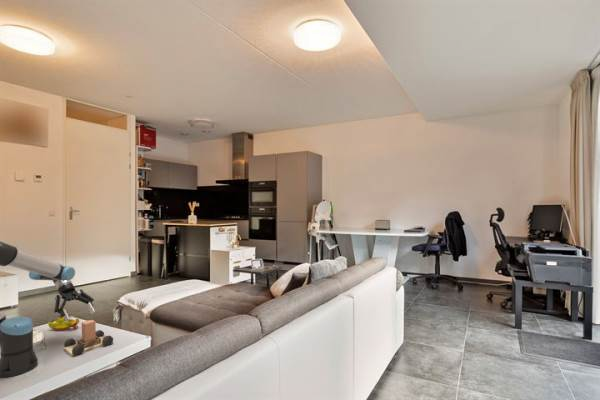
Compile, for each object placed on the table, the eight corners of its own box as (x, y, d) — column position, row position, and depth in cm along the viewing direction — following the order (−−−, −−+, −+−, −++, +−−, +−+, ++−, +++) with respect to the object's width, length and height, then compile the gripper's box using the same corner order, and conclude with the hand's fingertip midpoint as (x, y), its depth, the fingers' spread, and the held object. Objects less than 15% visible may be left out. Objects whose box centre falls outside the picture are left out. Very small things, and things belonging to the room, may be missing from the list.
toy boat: (73, 331, 200) (73, 315, 200) (44, 332, 200) (44, 315, 200) (80, 327, 206) (80, 311, 206) (53, 328, 207) (52, 312, 207)
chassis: (71, 357, 165) (71, 347, 165) (63, 349, 174) (62, 340, 174) (114, 343, 181) (114, 334, 181) (104, 337, 190) (103, 328, 190)
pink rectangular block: (85, 346, 174) (85, 324, 174) (81, 344, 177) (81, 322, 177) (95, 343, 178) (95, 321, 178) (92, 341, 181) (91, 319, 181)
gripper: (84, 286, 200) (100, 313, 194) (37, 296, 178) (53, 328, 171) (89, 278, 198) (105, 305, 192) (43, 287, 176) (59, 319, 169)
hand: (81, 316), depth 181 cm, fingers open, 13 cm apart
